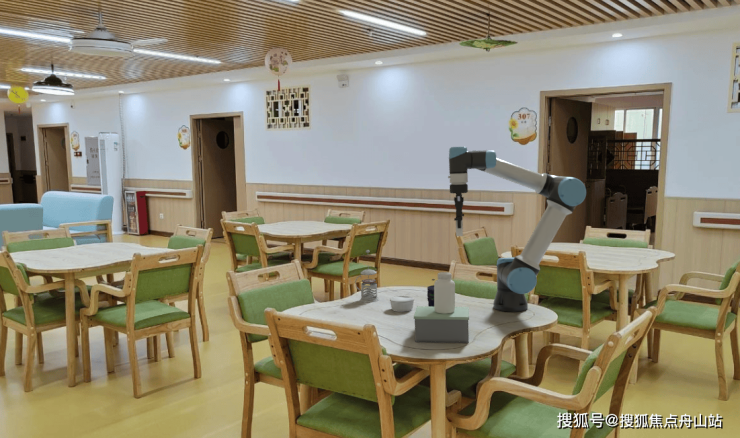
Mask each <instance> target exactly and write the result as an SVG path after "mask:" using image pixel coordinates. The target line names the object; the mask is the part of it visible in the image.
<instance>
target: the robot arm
mask: <svg viewBox="0 0 740 438" xmlns="http://www.w3.org/2000/svg"><path fill="white" fill-rule="evenodd" d="M448 152H449V153H448V164H449V165H448V168H449V169H448V170H449V172H448V173H449V175H448V176H447V178H448V179H449V183H450V184H449V193H450V194H455V196H454V197H453V202H454V207H455V218H454V220H453V221H455V235H456V237H463V236H464V235H463V234H464V233H463V232H464V227H463V226H464V222H463V219H464V216H465V214H464V213H463V208H464V202H465V200H464V198H465V197H464V196H463V194H467V193H468V192H469V186H468V182H469V181H468V178H469V175H468V170H472V169H473V170H475V169H476V170H478V171H481V172H484V173H487V174H490V175H492V176H494V177H495V176H496V177H498V178H500V179H503V180H506V181H509V182H511V183H514V184H518V185H519V186H523V187H526V188H528V189H532V190H534V191H535V193H536V194H538V195H541V196H543V197H545V198H547V199H546V203H547V206H546V209H545V210H544V212H543V213H542V216H541V217H540V219H539V221H538V223H537V224H536V226H535V229H534V230H533V232H532V234H531V235H530V237H529V239H528V241H527V243H526V244H525V246H524V247H523V249H522V251H521V253H520V254H519V255H515V256H513V257H512V256H511V257H499V258H498V259H497V261H496V282H497V283H496V287H497V288H496V290H497V291H496V293H495V296H494V300H493V309H495V310H497V311H500V312H507V313H508V312H509V313H510V312H511V313H512V312H513V313H515V312H523V311H526V310H528V308H529V306H528V304H529V303H528V300H527V297H526V295H525V294H528V293H531V292H532V291H533V290H534V289H535V288H536V286H537V284H538V282H537V281H538V278H537V276H538V275H539V272H540V271H541V268H540V263H541V262H542V259H543V258H544V256H545V254H546V252H547V251H548V249H549V247H550V245H551V244H552V242H553V240H554V238H555V236H556V235H557V234H558V231H559V229H560V228H561V226H562V224H563V223H564V221H565V218H566V217H567V216H569V215H571V214H573V212H574V211H575V209H576V207H577V206H578V205H581V204H582V203H583V202H584V201H585V199H586V196H587V188H586V186H585V183H584V182H583V181H581V180H580V179H578V178H576V177H573V176H563V175H562V176H561V175H560V176H559V175H553V174H549V173H547V172H543V173H539V172H538V171H537V172H536V171H534V170H531V169H528V168H525V167H523V166H520V165H517V164H514V163H511V162H508V161H506V160H503V159H500V158H498V157H497V153H496V152H495V150H491V149H490V150H489V149H488V150H487V149H486V150H468V147H467V146H451V147H450V148H449V151H448Z"/></svg>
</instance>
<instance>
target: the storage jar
mask: <svg viewBox="0 0 740 438" xmlns="http://www.w3.org/2000/svg"><path fill="white" fill-rule="evenodd" d="M431 281H436V280H435V279H434V278H432V279H431ZM426 289H427V292H426V293H427V294H426V296H427V298H426V300H427V301H428V302H427V303H428V304H427V307H434V284H433V285H429V286H427V288H426Z"/></svg>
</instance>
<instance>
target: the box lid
mask: <svg viewBox="0 0 740 438" xmlns="http://www.w3.org/2000/svg"><path fill="white" fill-rule="evenodd" d="M415 319H447V320H468V321H469V320H470V307H469V306H455V311H454V312H453V313H449V314H441V313H437V312H435V310H434V307H428V305H427V306H424V305H423V306H418V305H417V306H416V308H415V311H414V315H413V320H415Z"/></svg>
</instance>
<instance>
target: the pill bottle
mask: <svg viewBox="0 0 740 438" xmlns="http://www.w3.org/2000/svg"><path fill="white" fill-rule="evenodd" d="M452 275H453V274H452V273H451V272H448V271H444V272H443V271H441V272H438V273H437V280H434V283H433V285H434V310H435V312H437V313H441V314H449V313H453V312H454V311H455V307H456V283H455V281H454V280H452Z"/></svg>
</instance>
